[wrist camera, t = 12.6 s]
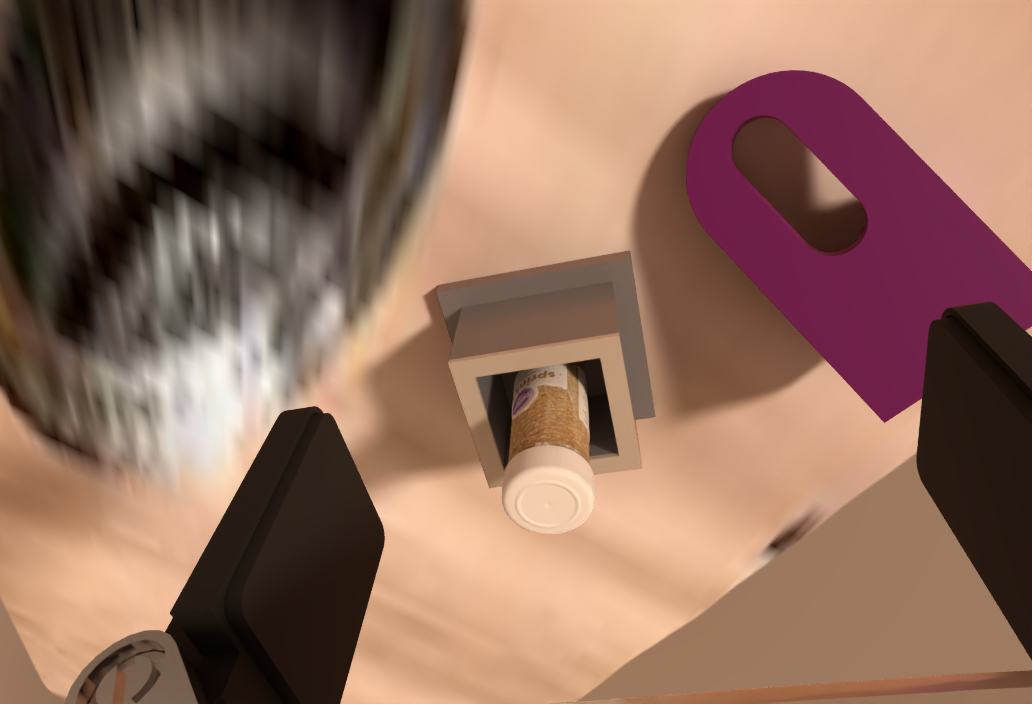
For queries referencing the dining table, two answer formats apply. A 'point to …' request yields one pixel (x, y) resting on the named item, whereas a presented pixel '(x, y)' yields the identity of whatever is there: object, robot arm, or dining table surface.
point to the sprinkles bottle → (549, 450)
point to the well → (551, 352)
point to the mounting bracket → (873, 256)
